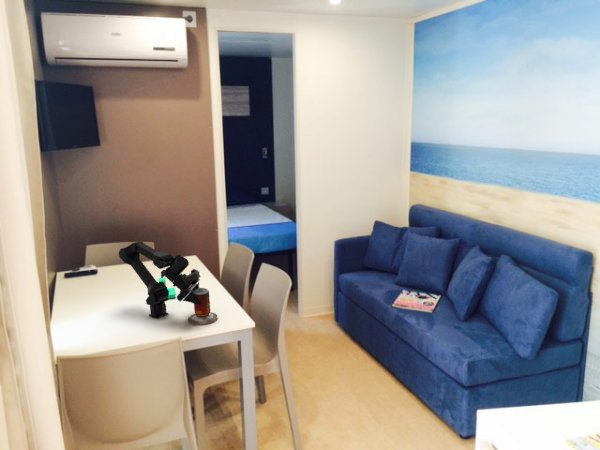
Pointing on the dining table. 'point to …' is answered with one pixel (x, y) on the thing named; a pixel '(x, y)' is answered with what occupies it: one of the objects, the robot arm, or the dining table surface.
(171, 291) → the camera mount
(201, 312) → the soda can
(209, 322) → the brown rimmed plate
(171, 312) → the dining table surface
